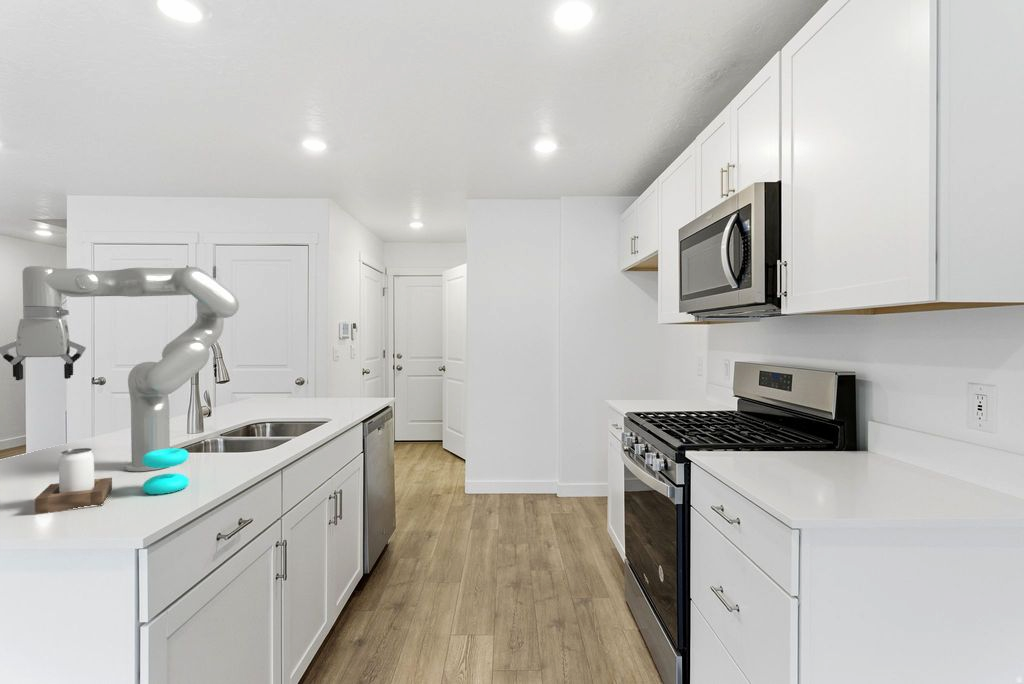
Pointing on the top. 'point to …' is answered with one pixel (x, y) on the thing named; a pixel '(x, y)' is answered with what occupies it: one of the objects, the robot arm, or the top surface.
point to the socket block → (72, 497)
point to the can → (76, 470)
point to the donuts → (165, 481)
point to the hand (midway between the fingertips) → (43, 379)
